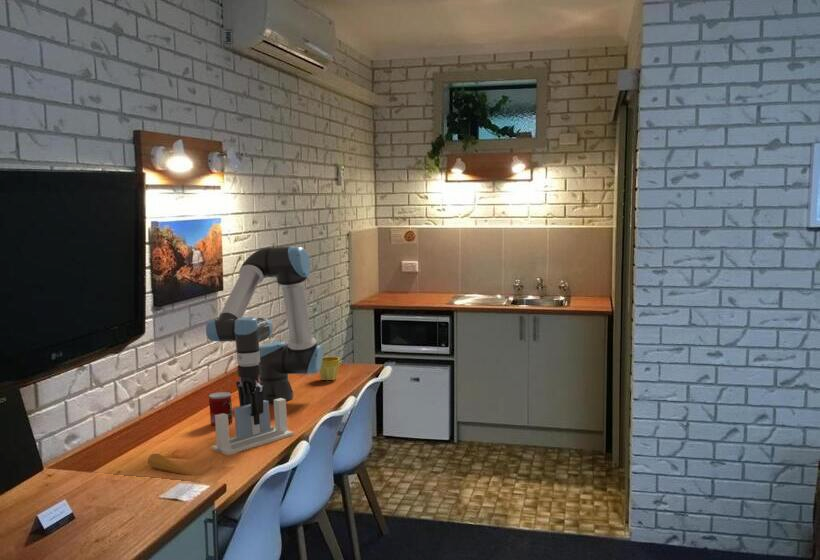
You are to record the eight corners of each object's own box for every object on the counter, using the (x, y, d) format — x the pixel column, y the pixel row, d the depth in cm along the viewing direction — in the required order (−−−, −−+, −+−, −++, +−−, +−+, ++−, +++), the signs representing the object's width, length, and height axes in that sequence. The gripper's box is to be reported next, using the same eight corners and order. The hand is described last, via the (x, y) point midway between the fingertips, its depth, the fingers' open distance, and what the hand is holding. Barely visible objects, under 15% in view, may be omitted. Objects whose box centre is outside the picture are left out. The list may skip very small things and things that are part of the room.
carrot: (147, 469, 221) (143, 458, 219) (157, 460, 225) (154, 449, 223) (195, 487, 212) (192, 475, 210) (205, 477, 216) (202, 466, 214)
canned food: (227, 427, 261) (225, 397, 260) (206, 426, 263) (204, 397, 262) (236, 420, 269) (234, 391, 268) (216, 420, 271) (214, 391, 269)
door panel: (266, 428, 248) (264, 399, 247) (270, 429, 246) (268, 401, 245) (236, 437, 240) (234, 408, 238) (240, 438, 238) (238, 409, 237)
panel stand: (276, 429, 256) (274, 396, 255) (293, 434, 249) (291, 400, 248) (211, 449, 237) (209, 413, 236) (228, 455, 230) (225, 418, 229)
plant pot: (341, 376, 334) (340, 355, 333) (340, 381, 324) (339, 360, 323) (318, 377, 333) (317, 356, 332) (317, 383, 323) (315, 361, 322)
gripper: (226, 363, 243) (230, 431, 246) (252, 369, 232) (257, 440, 235) (245, 359, 249) (249, 425, 251) (271, 364, 238) (276, 434, 240)
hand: (253, 432), depth 243 cm, fingers open, 3 cm apart
